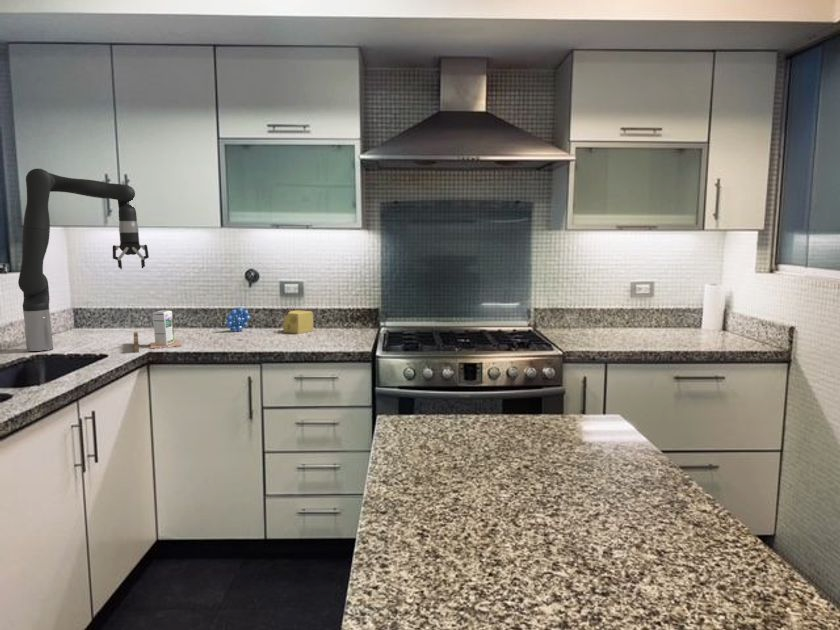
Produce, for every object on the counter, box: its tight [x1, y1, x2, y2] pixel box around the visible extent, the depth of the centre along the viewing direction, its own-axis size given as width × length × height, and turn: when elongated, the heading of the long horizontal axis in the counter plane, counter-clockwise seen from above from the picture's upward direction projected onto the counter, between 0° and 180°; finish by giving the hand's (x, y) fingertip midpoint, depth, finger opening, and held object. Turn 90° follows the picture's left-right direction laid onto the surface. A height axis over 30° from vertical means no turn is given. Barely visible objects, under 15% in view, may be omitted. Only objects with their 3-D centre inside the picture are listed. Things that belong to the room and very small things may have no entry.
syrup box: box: [152, 309, 176, 345], centre depth 255 cm, size 6×6×14 cm
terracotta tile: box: [149, 340, 182, 350], centre depth 256 cm, size 12×12×1 cm
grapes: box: [225, 307, 251, 332], centre depth 289 cm, size 12×7×12 cm, turn 114°
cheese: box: [283, 309, 314, 335], centre depth 287 cm, size 10×11×10 cm
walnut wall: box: [133, 331, 140, 353], centre depth 251 cm, size 22×2×5 cm, turn 26°
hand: (131, 268), depth 260 cm, fingers open, 8 cm apart
